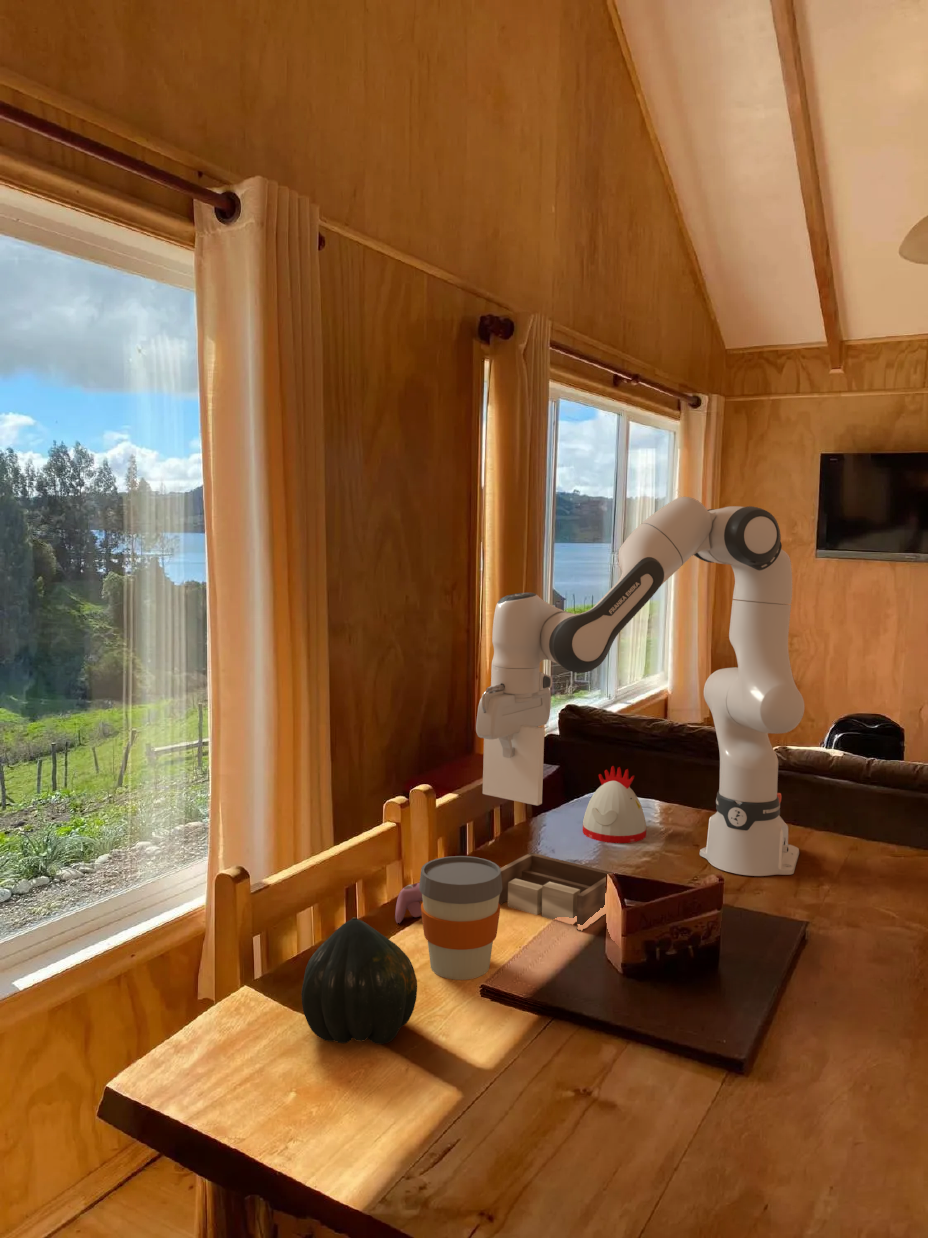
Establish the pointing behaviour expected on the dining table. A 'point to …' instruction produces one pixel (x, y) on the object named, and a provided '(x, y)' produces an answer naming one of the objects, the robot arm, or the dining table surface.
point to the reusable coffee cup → (460, 914)
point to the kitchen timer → (614, 811)
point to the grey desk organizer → (559, 880)
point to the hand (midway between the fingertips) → (512, 755)
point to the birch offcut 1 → (525, 896)
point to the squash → (358, 986)
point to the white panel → (515, 767)
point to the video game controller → (408, 902)
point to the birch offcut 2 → (559, 901)
